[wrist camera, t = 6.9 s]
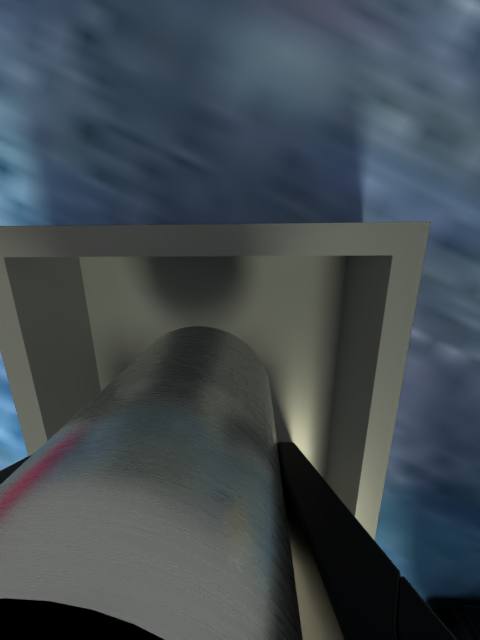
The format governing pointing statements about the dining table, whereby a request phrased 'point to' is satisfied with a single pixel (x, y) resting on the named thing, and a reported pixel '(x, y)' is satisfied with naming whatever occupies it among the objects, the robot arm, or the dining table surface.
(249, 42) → the dining table surface
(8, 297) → the tote
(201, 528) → the tin
